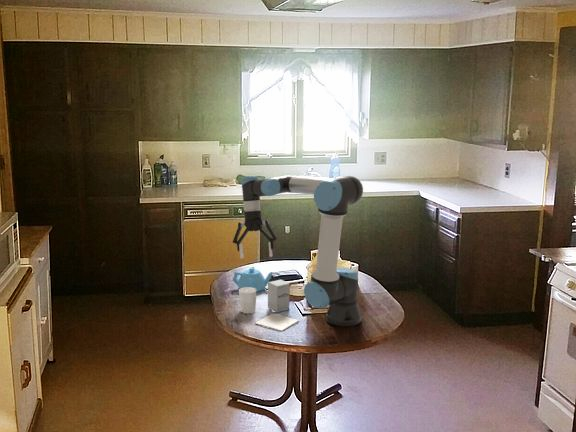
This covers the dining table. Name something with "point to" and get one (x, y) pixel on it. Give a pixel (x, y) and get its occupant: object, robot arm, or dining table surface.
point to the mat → (277, 322)
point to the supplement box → (278, 295)
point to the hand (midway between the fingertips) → (256, 257)
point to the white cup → (247, 299)
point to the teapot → (251, 279)
